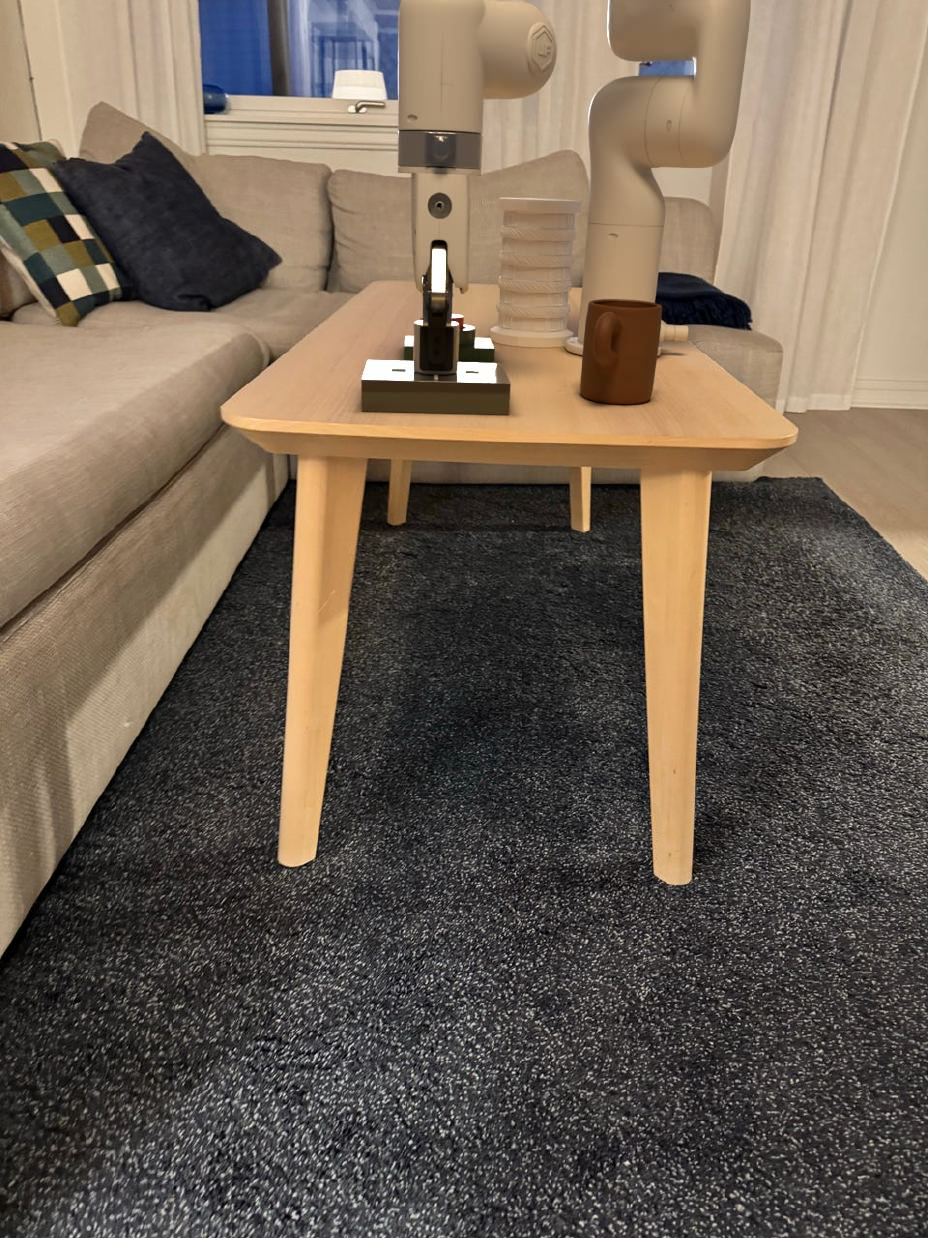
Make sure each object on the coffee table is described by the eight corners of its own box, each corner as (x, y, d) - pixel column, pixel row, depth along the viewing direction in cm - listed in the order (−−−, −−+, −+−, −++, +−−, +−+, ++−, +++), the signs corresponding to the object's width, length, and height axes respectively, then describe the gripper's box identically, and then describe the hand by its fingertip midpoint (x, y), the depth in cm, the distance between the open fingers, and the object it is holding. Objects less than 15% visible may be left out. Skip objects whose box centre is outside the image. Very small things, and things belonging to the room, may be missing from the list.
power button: (462, 328, 114) (463, 314, 114) (464, 332, 111) (464, 318, 110) (434, 327, 114) (434, 313, 113) (434, 332, 111) (434, 317, 110)
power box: (489, 351, 118) (491, 323, 116) (494, 362, 111) (495, 333, 109) (405, 349, 117) (405, 320, 116) (403, 360, 110) (404, 330, 109)
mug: (631, 418, 87) (643, 315, 83) (555, 408, 90) (563, 308, 86) (659, 395, 97) (670, 302, 93) (590, 386, 100) (599, 296, 95)
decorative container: (582, 338, 130) (594, 200, 122) (558, 350, 120) (570, 201, 113) (506, 331, 134) (513, 197, 126) (477, 342, 124) (483, 197, 116)
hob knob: (413, 365, 91) (413, 315, 89) (457, 366, 91) (458, 316, 89) (413, 374, 87) (413, 322, 85) (458, 375, 87) (460, 323, 85)
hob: (500, 392, 95) (502, 361, 94) (509, 415, 86) (510, 381, 85) (367, 389, 95) (367, 358, 93) (361, 411, 86) (361, 377, 84)
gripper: (487, 156, 74) (478, 383, 82) (476, 159, 89) (469, 351, 97) (395, 152, 73) (395, 381, 81) (399, 156, 88) (399, 349, 96)
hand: (435, 363), depth 89 cm, fingers closed on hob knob, 4 cm apart
